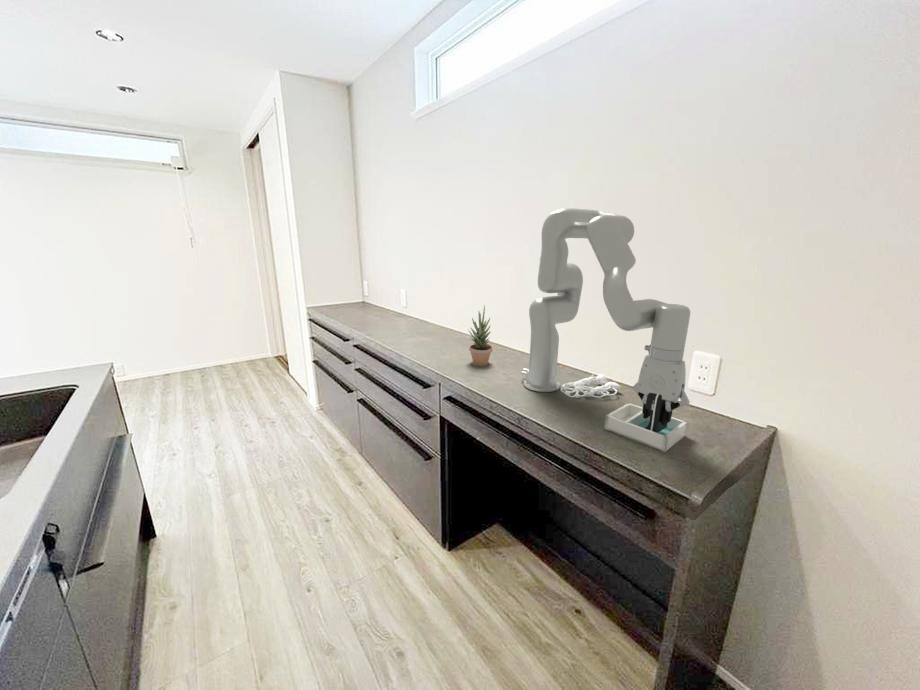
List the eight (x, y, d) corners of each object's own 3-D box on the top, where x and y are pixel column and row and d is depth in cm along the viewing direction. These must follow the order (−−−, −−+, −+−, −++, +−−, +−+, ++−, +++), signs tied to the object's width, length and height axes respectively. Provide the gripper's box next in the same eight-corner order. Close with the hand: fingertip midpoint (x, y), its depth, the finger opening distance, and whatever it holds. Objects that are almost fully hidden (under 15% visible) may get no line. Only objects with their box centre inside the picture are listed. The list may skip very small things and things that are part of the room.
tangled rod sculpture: (574, 407, 123) (575, 395, 122) (552, 387, 136) (553, 376, 135) (626, 399, 128) (628, 388, 127) (600, 380, 141) (602, 370, 140)
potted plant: (480, 368, 154) (482, 307, 147) (464, 363, 161) (465, 304, 154) (497, 363, 161) (499, 304, 154) (481, 358, 167) (482, 301, 161)
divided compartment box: (604, 428, 106) (605, 415, 105) (626, 415, 115) (628, 402, 114) (664, 452, 95) (666, 438, 94) (684, 435, 103) (687, 422, 102)
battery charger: (653, 422, 106) (660, 383, 103) (667, 428, 103) (674, 388, 100) (639, 429, 102) (645, 389, 99) (653, 435, 99) (660, 394, 96)
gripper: (626, 349, 100) (618, 413, 105) (697, 365, 88) (684, 436, 93) (639, 344, 105) (631, 406, 110) (708, 358, 93) (695, 427, 98)
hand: (655, 419), depth 102 cm, fingers closed on battery charger, 4 cm apart
